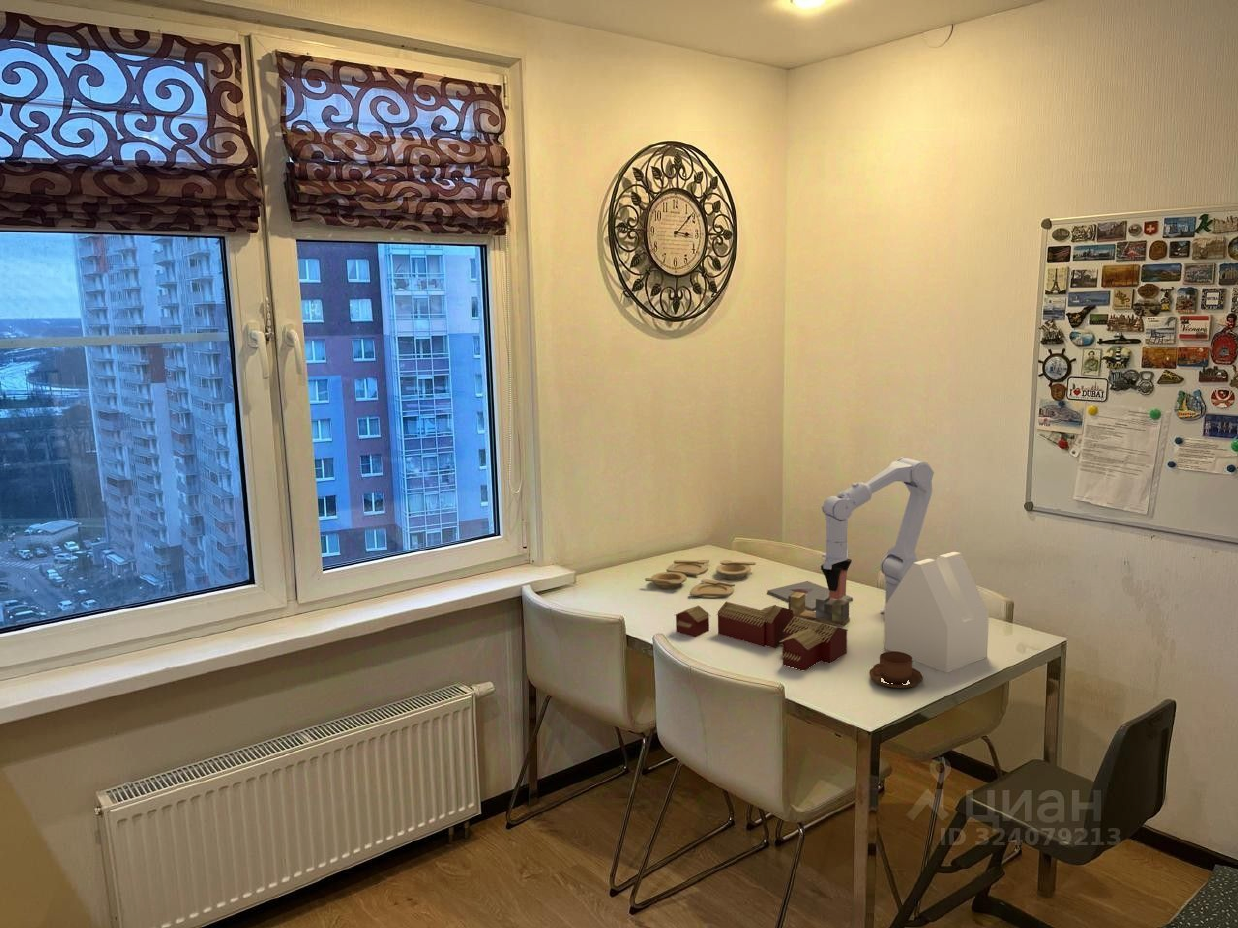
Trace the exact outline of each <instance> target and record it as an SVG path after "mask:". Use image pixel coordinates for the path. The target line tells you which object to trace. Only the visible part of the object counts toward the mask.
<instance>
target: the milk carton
mask: <svg viewBox="0 0 1238 928" xmlns="http://www.w3.org/2000/svg"><path fill="white" fill-rule="evenodd" d="M884 607H885V613H884V630H883V631H884V633H883V634H884V635H883V636H884V637H883V639H884V640H883V648H884V649H885V650H888V651H897V652H903V653H906V654H908V655H910V656H911V657H912V661H913V660H914V661H915V662H918V663H921V664H923V665H925V666H928V667H931V668H933V669H937V670H939V671H941V672H944V673H946V674H947V673H949V672H952V671H955V670H958V669H960V668H963V667H966V666H968V665H971V664H973V663H975V662H979V661H981V660H984V659H987V658H988V648H989V647H988V645H989V644H988V643H989V620H990V619H989V618H990V613H989V611H988V608H987V607H986V605H985V601H984V600H983V598H982V595H981V594H980V592H979V589H978V587H977V585H976V583H975V580H974V579H973V577H972V574H971V571H970V570H969V567H968V566H967V563H966V561H965V559H964V557H963V555H962V553H961V552H957V551H952V552H948V553H944V554H941V555H940V554H939V556H938V557H937V558H936V559H933V558H925V559H922V560H919V561H918V562H914V563H913V564H912V565H911V567H910V568H909V570H908V571H907V573H906V575H905V576H904V578H903V579H902V581H901V582H900V584H899V585H898V587H897V588H896V590H895V591H894V593H893V594H892V596H891V597H890V599H889V600H888V602H887V603H886V605H884Z"/></svg>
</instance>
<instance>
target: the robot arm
mask: <svg viewBox="0 0 1238 928" xmlns="http://www.w3.org/2000/svg"><path fill="white" fill-rule="evenodd" d="M934 474H935V471H934V470H933V469H932V467H931V465H930V464H929V463H928V462H926V461H920V460H917V459H912V458H909V457H907V456H901V457H899V458H897V459H896V460H893V461H891V463H890V464H889V466H888V467H887V468H885V469H883V470H882V471H881V472H879V473H878V474H876V475H875V476H873V477H872V478H870V479H869V480H868V481H866V482H865V483H864V482H861V481H858V482H853V483H852V484H851V486H850V487H848V488H847V489H845V490H843V491H839V492H838V494H837V495H830V496H828V497H827V498H826V499H825V501H824V503H823V505H822V506H821V510H822V513H823V514H824V516H825V552H823V553H822V554H821V557H822V558H824V561H823V564H821V565H820V570H821V571H822V573H823V575H824V577H825V582H826V585H827V588H828V589H829V590H831V591H836V590H837V587H838V580H839V576H840V573H841V571H842V570H847V571H848V570H849V567H850V566H851V564H852V559H851V558H849V556H850V549H848V525H849V522H848V519H850V517H852V514H853V512H854V511H855V510H856V509H858V508H859V507H861V506H862V505H865V504H866V503H868V502H869V501H871V499H872V497H873V494H874V493H876V492H878V491H880V490H882V489H884V488H885V487H888V486H889V485H892V484H893V483H895V482H901V483H903V484H904V485H905V486H906V488H907V489H908V491H909V497H908V501H907V502H906V503H907V504H906V506H905V507H906V508H905V510H904V514H903V517H902V521H901V523H900V527H899V530H898V535H897V538H896V542H895V544H894V546H892V547H890V548H889V549H888V550H887V552H886V555H885V556H884V558H883V559H882V560H881V563H880V571H881V573H882V574H883V575H884V579H885V596H884V597H885V600H884V601H885V603H884V604H885V605H886V603H887V602H888V600H889V599H890V597H891V596H892V594H893V593H894V591H895V590H896V588H897V587H898V585H899V584H900V582H901V581H902V579H903V578H904V576H905V575H906V573H907V571H908V570H909V568H910V567H911V565H912V564H913V563H914V562H918V561H920V560H919V558H918V557H917V554H916V548H917V544H918V542H919V538H920V534H921V530H922V527H923V524H924V520H925V517H926V515H927V511H928V507H929V505H930V501H931V497H932V495H933V482H932V480H933V476H934ZM885 605H884V607H883V608H882V609H881V610H880V613H881V614H885Z"/></svg>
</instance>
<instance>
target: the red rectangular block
mask: <svg viewBox="0 0 1238 928" xmlns="http://www.w3.org/2000/svg"><path fill="white" fill-rule="evenodd" d="M847 574H848V570H842V571H841V573H840V576H839V580H838V587H837V590H836V591H831V590H829V598H833V599H838V600H840V599H841V598H842V597H844V596H845V595H847Z"/></svg>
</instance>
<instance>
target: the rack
mask: <svg viewBox="0 0 1238 928" xmlns="http://www.w3.org/2000/svg"><path fill="white" fill-rule="evenodd" d="M787 604H788V606H787V607H788V608H787V609H790V610H793V616H795V617H799V618H803V619H808V620H812V621H815V622H820V623H824V624H828V625H836V626H842V627H845V626H846V625H847V624H848V623H849V622H850V621H851V617H850V602H849V600H844V599H840V600H838V599H837V600H833V599H830V598H829V595H823V594H822V595H820V596H819V597H818V598H816V611H808V610H806V609H805V593H800V592H794V593H792V594H791V595H789V596H788V602H787Z"/></svg>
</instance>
